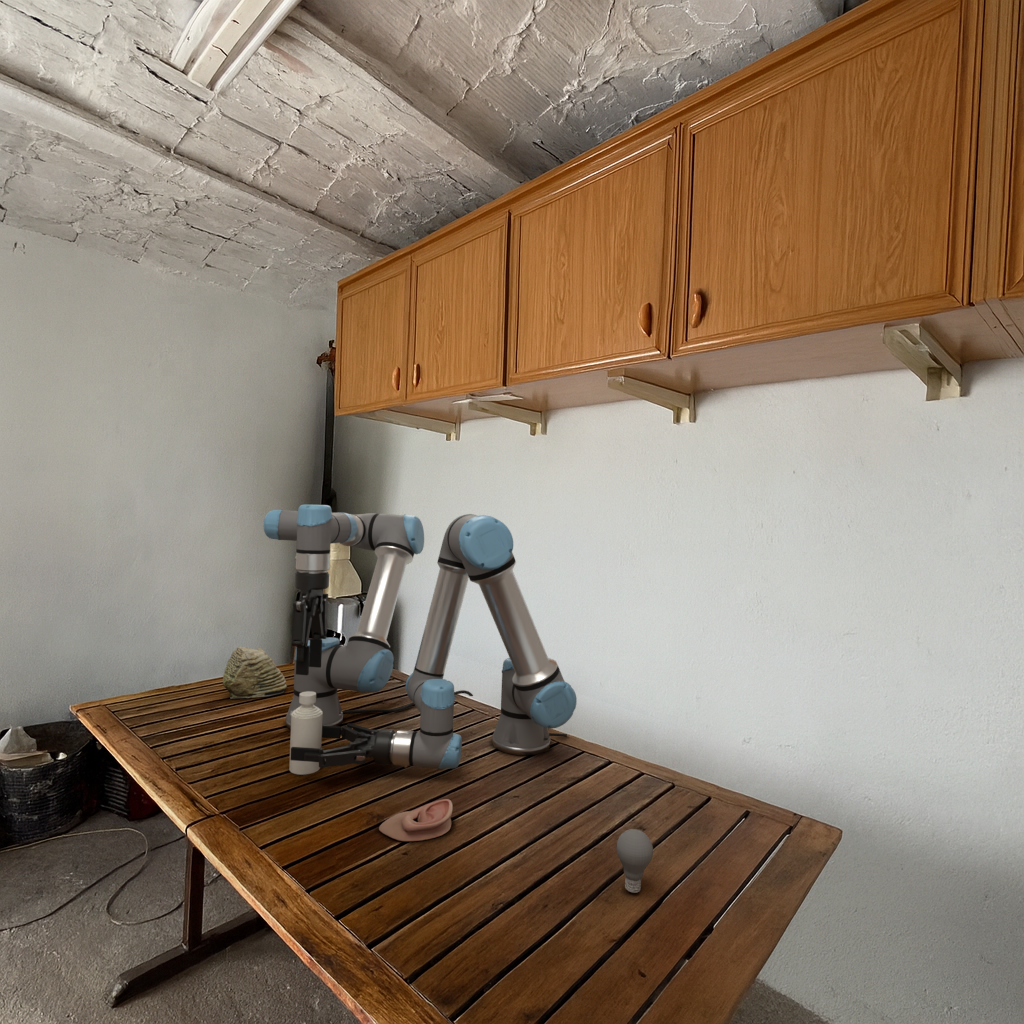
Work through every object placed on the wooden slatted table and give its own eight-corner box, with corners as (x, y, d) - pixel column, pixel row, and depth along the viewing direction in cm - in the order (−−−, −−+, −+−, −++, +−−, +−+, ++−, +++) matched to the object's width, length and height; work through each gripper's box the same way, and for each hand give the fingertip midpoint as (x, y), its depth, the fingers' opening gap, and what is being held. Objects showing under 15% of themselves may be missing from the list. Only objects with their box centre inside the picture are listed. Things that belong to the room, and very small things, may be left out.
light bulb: (610, 879, 108) (613, 822, 108) (644, 879, 109) (647, 822, 109) (619, 902, 102) (622, 840, 102) (655, 901, 103) (658, 840, 103)
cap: (300, 699, 148) (300, 691, 148) (316, 699, 149) (316, 691, 149) (298, 704, 145) (298, 696, 145) (315, 704, 146) (315, 696, 146)
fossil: (218, 695, 195) (220, 647, 195) (278, 685, 208) (279, 640, 207) (228, 703, 189) (230, 653, 188) (289, 692, 201) (290, 645, 201)
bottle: (291, 762, 150) (294, 691, 150) (321, 761, 151) (324, 690, 151) (287, 775, 143) (290, 700, 143) (319, 773, 145) (321, 699, 144)
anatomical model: (372, 815, 119) (396, 788, 130) (371, 836, 119) (395, 808, 130) (440, 826, 116) (458, 797, 127) (439, 847, 116) (457, 817, 127)
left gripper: (314, 566, 156) (311, 659, 157) (276, 574, 137) (272, 680, 138) (344, 567, 155) (340, 661, 156) (309, 576, 136) (305, 683, 137)
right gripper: (378, 788, 133) (280, 781, 134) (405, 743, 158) (321, 737, 159) (380, 753, 133) (281, 746, 134) (406, 713, 158) (322, 708, 159)
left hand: (308, 670), depth 147 cm, fingers open, 6 cm apart
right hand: (302, 741), depth 146 cm, fingers open, 13 cm apart
